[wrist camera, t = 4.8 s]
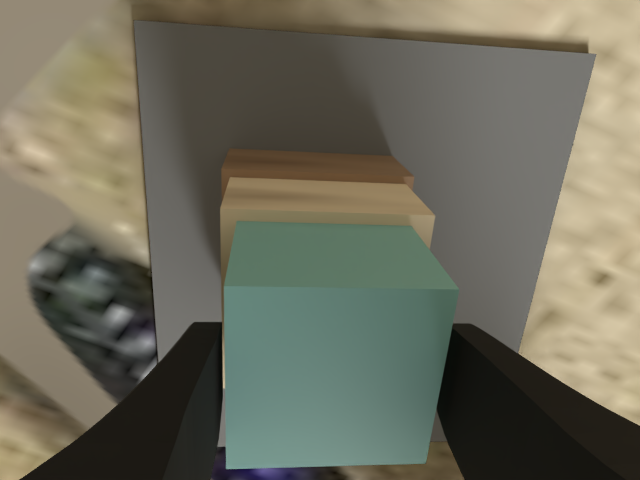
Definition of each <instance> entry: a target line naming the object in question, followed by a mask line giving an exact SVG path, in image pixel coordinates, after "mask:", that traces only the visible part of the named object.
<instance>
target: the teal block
mask: <svg viewBox="0 0 640 480" xmlns="http://www.w3.org/2000/svg"><path fill="white" fill-rule="evenodd" d="M458 294H459V288H458V287H457V285H456V284H455V283H454V281H453V280H452V279H451V277H450V276H449V275H448V274H447V272H446V271H445V270H444V268H443V267H442V266H441V264H440V263H439V262H438V260H437V259H436V258H435V256H434V255H433V254H432V252H431V251H430V250H429V248H428V247H427V246H426V244H425V243H424V242H423V240H422V239H421V238H420V237H419V235H418V234H417V233H416V231H415V230H414V229H413V227H412V226H400V225H364V224H329V223H294V222H258V221H237V222H236V227H235V232H234V237H233V242H232V247H231V252H230V258H229V263H228V268H227V273H226V278H225V283H224V338H225V418H226V469H247V468H284V467H321V466H358V465H395V464H426V459H427V454H428V449H429V444H430V439H431V434H432V428H433V423H434V418H435V413H436V408H437V403H438V397H439V392H440V387H441V382H442V377H443V372H444V367H445V361H446V356H447V351H448V346H449V341H450V336H451V331H452V325H453V320H454V315H455V310H456V305H457V300H458Z"/></svg>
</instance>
